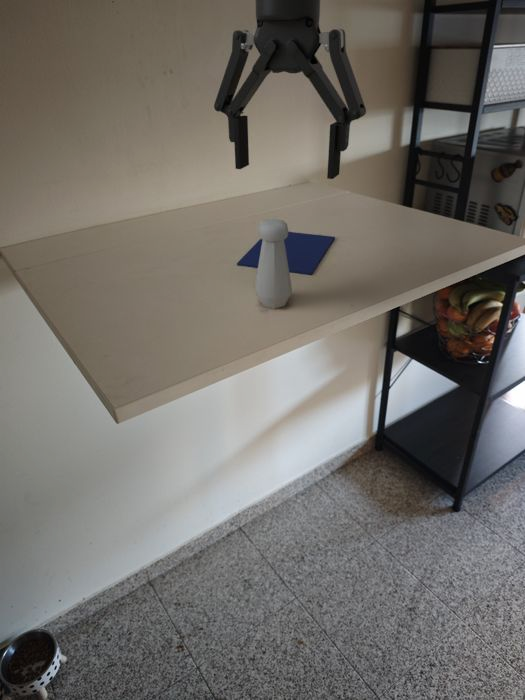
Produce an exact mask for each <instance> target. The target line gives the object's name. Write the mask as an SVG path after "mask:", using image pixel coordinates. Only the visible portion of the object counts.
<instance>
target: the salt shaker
mask: <svg viewBox="0 0 525 700" xmlns="http://www.w3.org/2000/svg"><path fill="white" fill-rule="evenodd" d="M257 229H258V237H259V239H262V240H263V241H262V247H261V252H260V258H259V264H258V268H257V270H256V277H255V282H254V292H255V295H256V297H257V299H258V300H259V302H260V303H261V305H262V307H263V308H267V309H273V310H275V309H276V310H277V309H279V308H283V307H285V306H286V304H287V302H288V300H289V298H290V297H291V295H292V293H293V286H292V280H291V275H290V272H289V268H288V261H287V255H286V249H285V243H284V239H286V238H287V236H288V232H289V227H288V223H287V222H286V221H284V220H283V219H279V218H270V219H269V218H268V219H265V220H263V221H262V222H260V223H259V224H258V228H257Z"/></svg>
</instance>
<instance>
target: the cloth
mask: <svg viewBox="0 0 525 700" xmlns="http://www.w3.org/2000/svg"><path fill="white" fill-rule="evenodd" d="M335 239H336V236H331V235H323V234H314V233H313V234H312V233H305V232H295V231H293V232H292V231H288V236H287V238H286V239H284V243H285V249H286V255H287V261H288V268H289V273H294V274H302V275H309V276H312V275H313V274H314V272H315V271H316V269H317V268H318V266H319V264H320V263H321V262H322V260H323V258H324V257H325V255H326V253H327V252H328V251H329V248H330V247H331V245H332V244H333V242H334V241H335ZM262 241H263V240H262V239H261V238H259V240H258V241H257V242H256V243H254V245H252V247H251V248H250V249H249V250H248V251H247V252H246V253H245V254H244V255H243V256H242V257H241V258H240V259H239V260H238V261H237V262H236V266H241V267H248V268H256V269H258V264H259V258H260V252H261V247H262Z"/></svg>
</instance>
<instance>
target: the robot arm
mask: <svg viewBox="0 0 525 700" xmlns="http://www.w3.org/2000/svg"><path fill="white" fill-rule="evenodd" d="M320 13H321V0H255V21H256V28H255V32H251V31H249V30H247V29H239V30H238V29H237V30H234V31H233V33H232V43H231V52H230V56H229V58H228V62H227V64H226V67H225V70H224V74H223V76H222V79H221V83H220V86H219V89H218V91H217V94H216V98H215V101H214V104H213V108H214V110H215V111H216V112H221V113H222V114H224V115H226V117H227V122H228V123H227V125H228V126H227V127H228V139H229V142H230V143H234V163H235V164H234V165H235V170H242V169H244V168H246V167H248V166H250V156H249V155H250V153H249V152H250V151H249V150H250V149H249V118H248V116H249V115H243V114H244V113H245V112H244V110H245V109H246V107H247V106H248V104H249V103H250V101H251V100H252V98H253V97H254V96H255V94H256V93H257V91H258V89H259V88H260V87H261V85H262V83H264V81H265V80H266V78H267V76H268V75H269V74H270V73H272V74H281V73H288V74H298V73H302V74H303V76H304V77H305V78H307V79H308V80H309V82H310V83H311V85H312V86H313V88H314V90H315V91H316V93H317V94H318V96H319V97H320V99H321V100H322V102H323V103H324V105H325V106H326V108H327V109H328V111H329V112H330V114H331V115H332V117H333V118H334V120H335V122H333V123H330V124H329V137H328V138H329V140H328V155H327V157H328V158H327V172H326V173H327V175H326V179H327V180H328V179H329V180H334V179H335V178H336V177H338V176H339V175H340V168H341V155H342V154H341V152H344V151H346V150H347V149H348V147H349V143H350V127H351V123H352V122H353V121H356V120H359V119H360V118H362V117H364V116H365V115H366V114H367V108H366V105H365V103H364V100H363V97H362V94H361V90H360V88H359V85H358V82H357V79H356V76H355V73H354V71H353V68H352V65H351V61H350V59H349V57H348V53H347V47H346V46H347V45H346V44H347V43H346V42H347V41H346V32H345V30H344V29H343V28H336V29H335V28H334V29H331V30H330V31H324V32H321V28H320V16H321V14H320ZM322 45H323V47H324V50H325V51H326V52H327V53H329V57H330V61H331V63H332V66H333V69H334V72H335V75H336V78H337V80H338V83H339V86H340V89H341V93H342V94H343V97H344V100H345V102H344V100H343V99H342V97H341V96H340V94H339V92H338V91H337V90H336V87H335V86H334V84H333V83H332V82H331V79H330V78H329V77H328V75H327V74H326V72H325V71H324V69H323V65H322V63H321V62H320V60H319V59H318V57H317V56H316V54H317V52H318V50H319V49H320V48H321V46H322ZM253 47H255V48H256V50H257V52H258V53H259V56H258V58H257V60H256V61H255V62H254V64H253V65H252V68H251V71H250V73H249V74H248V76H247V77H246V79H245V80H244V82H243V84H242V85H241V86H240V88H239V89H238V91H237V88H238V85H239V84H240V80H241V78H242V75H243V72H244V69H245V67H246V63H247V61H248V58H249V53H250V52H251V51H252V50H253ZM236 91H237V92H236Z"/></svg>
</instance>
